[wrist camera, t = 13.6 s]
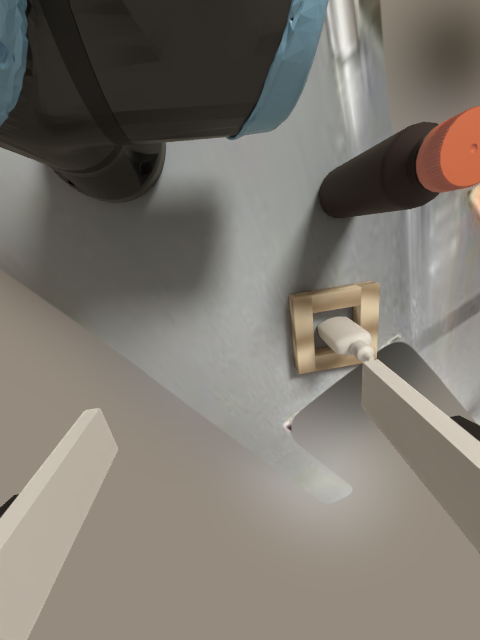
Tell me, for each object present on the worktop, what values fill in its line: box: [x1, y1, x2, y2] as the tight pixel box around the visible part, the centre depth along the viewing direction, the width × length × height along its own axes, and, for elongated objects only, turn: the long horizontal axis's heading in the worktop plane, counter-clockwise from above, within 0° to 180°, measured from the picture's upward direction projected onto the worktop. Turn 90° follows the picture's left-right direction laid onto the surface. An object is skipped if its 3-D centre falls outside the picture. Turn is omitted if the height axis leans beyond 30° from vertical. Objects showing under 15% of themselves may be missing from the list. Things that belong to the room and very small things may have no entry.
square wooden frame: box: [289, 281, 380, 374], centre depth 42 cm, size 14×14×2 cm
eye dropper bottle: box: [318, 317, 374, 362], centre depth 37 cm, size 4×6×12 cm
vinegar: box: [319, 106, 480, 218], centre depth 26 cm, size 7×7×20 cm
